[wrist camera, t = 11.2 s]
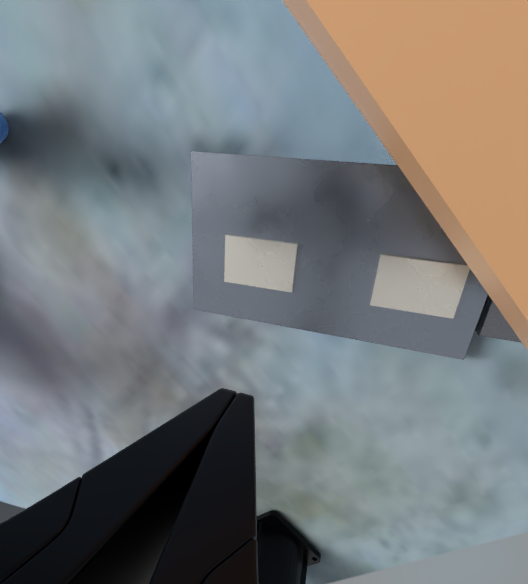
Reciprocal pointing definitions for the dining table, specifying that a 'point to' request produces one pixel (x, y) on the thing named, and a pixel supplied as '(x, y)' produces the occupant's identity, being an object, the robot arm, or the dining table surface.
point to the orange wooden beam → (445, 117)
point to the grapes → (3, 128)
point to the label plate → (328, 252)
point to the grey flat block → (495, 323)
